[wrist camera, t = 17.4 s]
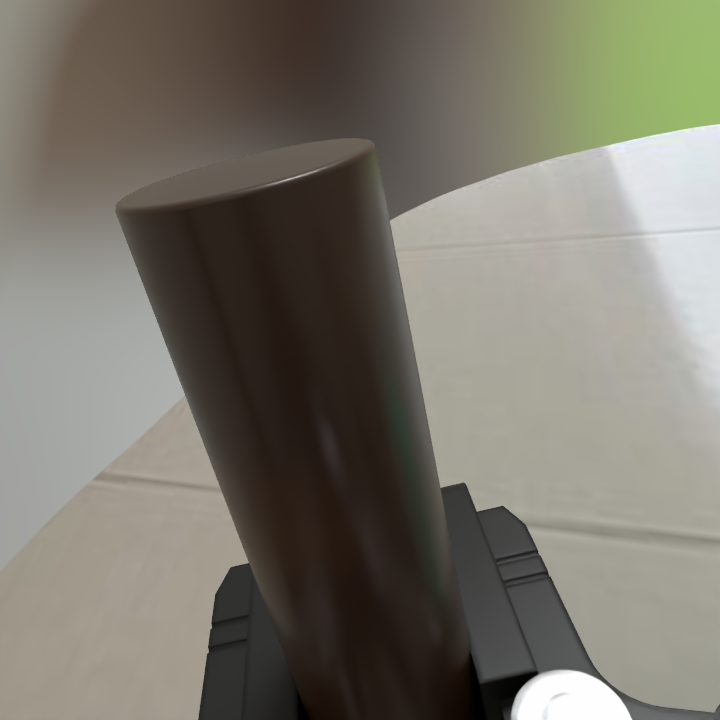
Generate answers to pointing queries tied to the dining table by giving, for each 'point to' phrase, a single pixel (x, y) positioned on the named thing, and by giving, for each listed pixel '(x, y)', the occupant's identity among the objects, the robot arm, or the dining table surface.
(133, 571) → the dining table surface
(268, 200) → the muddler
